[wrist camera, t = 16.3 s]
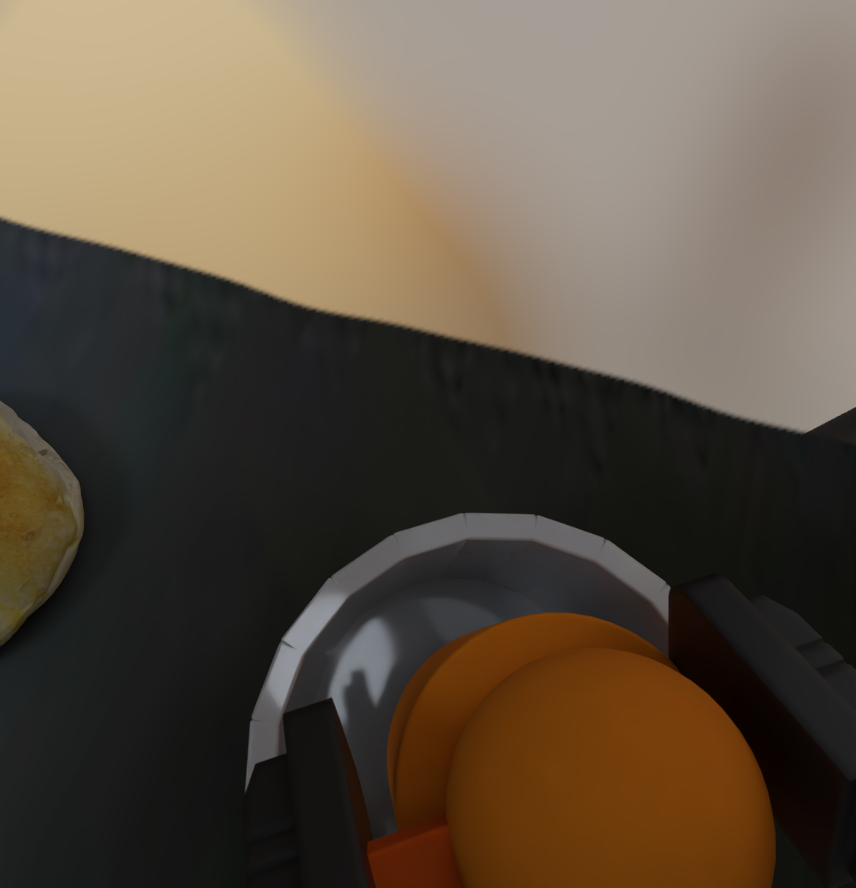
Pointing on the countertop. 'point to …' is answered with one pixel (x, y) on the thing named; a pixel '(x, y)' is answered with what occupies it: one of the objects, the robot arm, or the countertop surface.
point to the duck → (568, 768)
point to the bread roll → (33, 521)
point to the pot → (437, 622)
